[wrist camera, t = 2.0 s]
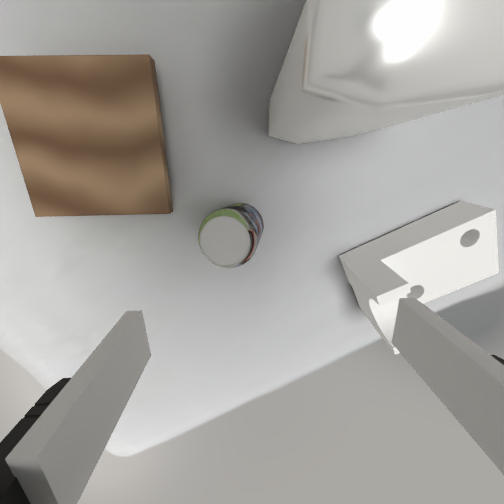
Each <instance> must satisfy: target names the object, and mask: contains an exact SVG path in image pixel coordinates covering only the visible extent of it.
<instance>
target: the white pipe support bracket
mask: <svg viewBox="0 0 504 504" xmlns="http://www.w3.org/2000/svg"><path fill="white" fill-rule="evenodd" d="M339 258H340V261H341V263H342V266H343V269H344V271H345V274H346V277H347V279H348V282H349V283H350V284H351V285H352V287H353V290H354V293H355V296H356V298H357V301H358V304H359V307H360V309H361V310H362V312H363V313H364V314H365V316H366V317H367V318H368V320H369V321H370V322H371V324H372V325H373V326H374V328H375V329H376V330H377V332H378V333H379V334H380V336H381V337H382V338H383V339H384V341H385V342H386V343H387V345H388V346H389V347H390V349H391V350H392V351H393V353H394V354H395V355H396V354H398V353H400V352H399V351H398V350H397V348H396V347H395V346H394V345H393V344H392V338H393V332H394V327H395V321H396V315H397V310H398V304H399V298H416V299H417V300H418V301H420V302H421V303H422V304H424V303H426V302H428V301H431V300H433V299H436V298H438V297H441V296H443V295H446V294H448V293H451V292H453V291H455V290H458V289H460V288H463V287H465V286H468V285H470V284H473V283H475V282H478V281H480V280H482V279H485V278H487V277H490V276H492V275H495V274H497V273H499V267H498V247H497V228H496V210H495V209H491V208H487V207H484V206H480V205H476V204H472V203H468V202H464V201H459V202H457V203H455V204H453V205H450V206H448V207H446V208H444V209H441V210H439V211H437V212H435V213H433V214H430V215H428V216H426V217H424V218H422V219H419V220H417V221H415V222H413V223H410V224H408V225H406V226H404V227H402V228H399V229H397V230H395V231H393V232H390V233H388V234H386V235H384V236H382V237H379V238H377V239H375V240H373V241H370V242H368V243H366V244H364V245H362V246H359V247H357V248H355V249H353V250H350V251H348V252H346V253H344V254H342V255H339Z"/></svg>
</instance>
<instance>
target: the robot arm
mask: <svg viewBox="0 0 504 504" xmlns="http://www.w3.org/2000/svg"><path fill="white" fill-rule="evenodd" d="M392 344H393V345H394V346H395V347H396V348H397V350H398V351H399V352H400V353H401V354H402V355H403V357H404V358H405V359H406V360H407V361H408V363H409V364H410V365H411V366H412V367H413V368H414V370H415V371H416V372H417V373H418V374H419V376H420V377H421V378H422V379H423V380H424V381H425V383H426V384H427V385H428V386H429V387H430V389H431V390H432V391H433V392H434V393H435V394H436V395H437V397H438V398H439V399H440V400H441V401H442V403H443V404H444V405H445V406H446V407H447V409H448V410H449V411H450V412H451V413H452V414H453V416H454V417H455V418H456V419H457V420H458V422H459V423H460V424H461V425H462V426H463V427H464V429H465V430H466V431H467V432H468V433H469V434H470V436H471V437H472V438H473V439H474V440H475V442H476V443H477V444H478V445H479V446H480V447H481V448H482V450H483V451H484V452H485V453H486V454H487V456H488V457H489V458H490V459H491V460H492V461H493V463H494V464H495V465H496V466H497V468H498V469H499V470H500V471H501V472H502V473H503V475H504V360H503V359H501V358H499V357H497V356H495V355H490V354H488V353H487V352H486V351H484V350H483V349H482V348H480V347H479V346H478V345H476V344H475V343H474V342H472V341H471V340H470V339H468V338H467V337H466V336H464V335H463V334H462V333H461V332H459V331H458V330H457V329H455V328H454V327H452V326H451V325H450V324H449V323H447V322H446V321H445V320H443V319H442V318H441V317H439V316H438V315H437V314H435V313H434V312H433V311H431V310H430V309H429V308H428V307H426V306H425V305H424V304H422V303H421V302H420V301H418V300H417V299H416V298H399V304H398V310H397V315H396V321H395V327H394V332H393V338H392ZM150 356H151V353H150V348H149V343H148V338H147V333H146V328H145V324H144V319H143V314H142V311H126V312H125V314H124V315H123V316H122V317H121V319H120V320H119V321H118V322H117V323H116V325H115V326H114V327H113V328H112V329H111V331H110V332H109V333H108V334H107V336H106V337H105V338H104V339H103V340H102V342H101V343H100V344H99V345H98V346H97V348H96V349H95V350H94V351H93V353H92V354H91V355H90V356H89V357H88V359H87V360H86V361H85V362H84V363H83V365H82V366H81V367H80V368H79V370H78V371H77V372H76V373H75V374H74V376H73V377H72V378H63V379H61V380H60V381H59V382H57V383H56V384H55V385H53V386H52V387H51V388H49V389H48V390H47V391H46V392H45V393H44V394H43V395H42V397H41V398H40V399H39V400H38V401H37V402H36V403H35V406H34V407H32V408H31V409H30V410H29V411H28V412H27V413H26V415H25V417H24V418H23V419H21V420H20V421H19V422H18V424H17V425H16V426H15V427H14V428H13V429H12V430H11V431H10V433H9V434H8V435H7V436H6V437H5V438H4V439H3V440H2V442H1V443H0V504H77V502H78V500H79V499H80V496H81V494H82V492H83V490H84V488H85V486H86V484H87V482H88V480H89V478H90V476H91V474H92V472H93V470H94V468H95V466H96V464H97V462H98V460H99V458H100V456H101V454H102V452H103V450H104V448H105V446H106V444H107V442H108V440H109V438H110V436H111V434H112V432H113V430H114V428H115V426H116V424H117V422H118V420H119V418H120V416H121V414H122V412H123V410H124V408H125V406H126V404H127V402H128V400H129V398H130V396H131V394H132V392H133V390H134V388H135V386H136V384H137V382H138V380H139V378H140V376H141V374H142V372H143V370H144V368H145V366H146V364H147V362H148V360H149V358H150Z"/></svg>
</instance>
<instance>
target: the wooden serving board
mask: <svg viewBox="0 0 504 504" xmlns="http://www.w3.org/2000/svg"><path fill="white" fill-rule="evenodd" d="M0 103H1V106H2V109H3V112H4V116H5V119H6V122H7V125H8V129H9V132H10V135H11V138H12V142H13V145H14V148H15V151H16V155H17V158H18V161H19V164H20V168H21V171H22V174H23V177H24V181H25V184H26V187H27V190H28V194H29V197H30V200H31V203H32V207H33V210H34V213H35V216H36V217H43V216H88V215H132V214H170V213H171V212H173V208H172V200H171V192H170V184H169V176H168V168H167V160H166V151H165V143H164V135H163V127H162V119H161V111H160V103H159V95H158V87H157V78H156V70H155V62H154V60H153V59H152V57H151V56H150V55H61V56H0Z"/></svg>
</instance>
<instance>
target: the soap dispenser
mask: <svg viewBox="0 0 504 504" xmlns="http://www.w3.org/2000/svg"><path fill="white" fill-rule="evenodd" d="M501 95H504V0H306V2H305V5H304V8H303V11H302V13H301V16H300V19H299V22H298V24H297V27H296V30H295V33H294V35H293V38H292V41H291V43H290V46H289V49H288V52H287V54H286V57H285V60H284V63H283V65H282V68H281V71H280V74H279V76H278V79H277V82H276V85H275V87H274V90H273V93H272V96H271V98H270V107H269V131H268V136H269V137H273V138H277V139H281V140H284V141H288V142H292V143H296V144H303V143H310V142H317V141H324V140H331V139H338V138H344V137H348V136H353V135H358V134H363V133H367V132H372V131H376V130H379V129H383V128H387V127H390V126H394V125H397V124H401V123H404V122H408V121H412V120H415V119H419V118H422V117H426V116H429V115H433V114H436V113H440V112H444V111H447V110H451V109H454V108H458V107H461V106H465V105H469V104H472V103H476V102H479V101H483V100H486V99H490V98H493V97H497V96H501Z"/></svg>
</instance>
